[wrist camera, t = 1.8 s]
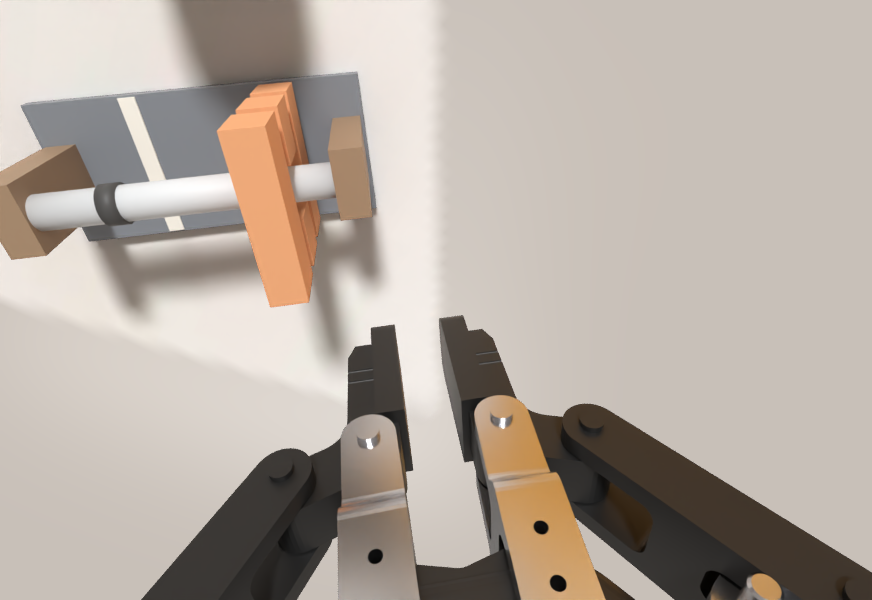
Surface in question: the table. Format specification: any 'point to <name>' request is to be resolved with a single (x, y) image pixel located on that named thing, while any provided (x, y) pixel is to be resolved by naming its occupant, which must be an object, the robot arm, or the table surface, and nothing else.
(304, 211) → the collar
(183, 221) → the pipe stand
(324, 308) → the table surface
